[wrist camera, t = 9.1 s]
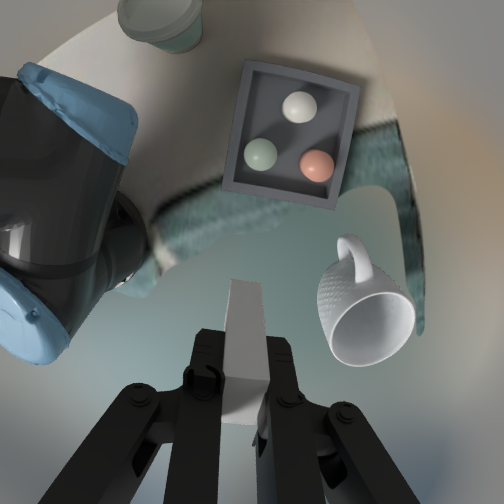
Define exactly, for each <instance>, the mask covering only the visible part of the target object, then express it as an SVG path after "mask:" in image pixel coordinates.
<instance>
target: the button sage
mask: <svg viewBox="0 0 504 504" xmlns="http://www.w3.org/2000/svg"><path fill="white" fill-rule="evenodd" d="M244 158H245V161H246V163H247V164H248V165H249V166H250V167H251V168H252V169H254V170H258V171H263V170H267V169H269V168H271V167H272V166H273V165H274V164H275V162H276V160H277V150H276V147H275V146H274V144H273V143H272V142H270V141H269V140H266V139H262V138H256V139H253V140H251V141H250V142H249V143H248V144H247V145H246V147H245V151H244Z"/></svg>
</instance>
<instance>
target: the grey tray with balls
mask: <svg viewBox="0 0 504 504" xmlns="http://www.w3.org/2000/svg"><path fill="white" fill-rule="evenodd" d="M360 90H361V87H359V86H356V85H353V84H350V83H347V82H344V81H341V80H337V79H334V78H330V77H327V76H323V75H319V74H316V73H312V72H308V71H304V70H299V69H295V68H291V67H286V66H281V65H276V64H271V63H265V62H260V61H254V60H247V59H245V61H244V66H243V71H242V76H241V81H240V86H239V91H238V96H237V101H236V107H235V112H234V117H233V123H232V128H231V134H230V140H229V146H228V151H227V157H226V163H225V170H224V176H223V182H222V188H221V190H224V191H230V192H236V193H243V194H249V195H255V196H260V197H266V198H272V199H278V200H283V201H288V202H294V203H299V204H304V205H309V206H314V207H319V208H324V209H329V210H335V208H336V203H337V199H338V195H339V191H340V187H341V183H342V179H343V174H344V170H345V166H346V161H347V156H348V152H349V147H350V142H351V138H352V133H353V128H354V123H355V117H356V112H357V107H358V101H359V95H360ZM298 91H301V92H306V93H308V94H310V95H311V96H312V97H313V98H314V100H315V101H316V104H317V111H316V114H315V116H314V117H313V118H312V119H311V120H310V121H307V122H304V123H298V124H295V123H291V122H289V121H287V120H286V119H285V118H284V117H283V115H282V112H281V105H282V102H283V101H284V100H285V99H286V98H287V97H288V96H289V95H290V94H292V93H294V92H298ZM256 138H262V139H266V140H269V141H270V142H272V143H273V144H274V146H275V147H276V150H277V160H276V162H275V164H274V165H273V166H272V167H271V168H269V169H267V170H263V171H258V170H254V169H252V168H251V167H250V166H249V165H248V164H247V163H246V161H245V158H244V151H245V147H246V145H247V144H248V143H249V142H250V141H251V140H253V139H256ZM309 149H316V150H320V151H323V152H326V153H327V154H329V155H330V156H331V158H332V160H333V162H334V171H333V173H332V175H331V176H330V178H329V179H327V180H325V181H323V182H315V181H312V180H310V179H309V178H307V177H306V176H305V175H303V174H302V173H301V171H300V169H299V166H298V161H299V157H300V156H301V154H302V153H303V152H305V151H306V150H309Z"/></svg>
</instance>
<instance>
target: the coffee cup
mask: <svg viewBox="0 0 504 504" xmlns="http://www.w3.org/2000/svg"><path fill="white" fill-rule="evenodd" d="M202 3H203V0H120V1H119V3H118V9H117V13H118V21H119V24H120V27H121V28H122V30H123V32H124V33H125V34H126V35H127V36H129V37H130V38H132V39H134V40H137V41H140V42H147V43H149V44H152V45H154V46H156V47H158V48H160V49H162V50H164V51H166V52H169V53H172V54H181V53H185V52H188V51H190V50H191V49H193V48H194V47H195V46H196V45H197V44H198V43H199V41H200V40H201V37H202V18H201V7H202Z"/></svg>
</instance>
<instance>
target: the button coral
mask: <svg viewBox="0 0 504 504" xmlns="http://www.w3.org/2000/svg"><path fill="white" fill-rule="evenodd" d="M298 166H299V169H300V171H301V173H302V174H303V175H305V176H306V177H307V178H309V179H310V180H312V181H315V182H323V181H325V180H327V179H329V178H330V176H331V175H332V173H333V171H334V162H333V160H332V158H331V156H330V155H329V154H327V153H326V152H323V151H320V150H316V149H309V150H306V151H305V152H303V153H302V154H301V156H300V157H299V161H298Z"/></svg>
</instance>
